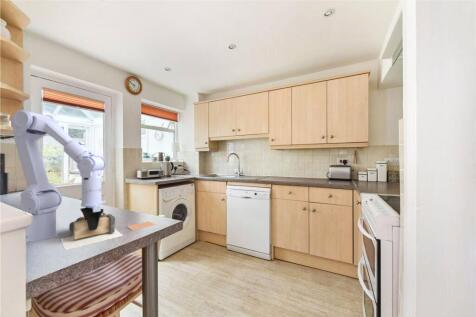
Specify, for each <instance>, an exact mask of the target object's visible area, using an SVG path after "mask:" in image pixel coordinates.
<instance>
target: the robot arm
mask: <svg viewBox="0 0 476 317" xmlns="http://www.w3.org/2000/svg"><path fill="white" fill-rule="evenodd" d="M10 122H11V127H12V131H13V134H14V136H13V139H14V142H15V146H16V151H17V153H18V154H17V155H18V156H19V161H20V164H21V169H22V171H23V174H24V179H25V181H26V186H27V188H25V189H24V190H23V191H22V192H21V193H20V198H21V199H20V209H21V211H23V212H24V211H25V212H28V213H31V214H32V215H33V223H32V225H31V226H30V227H28V228H27V230H26V236H27V237H26V239H27V243H31V242H36V241H40V240H46V239H50V238H55V237H59V236H60V235H59V232H58V231H57V210H58V209H59V206H60V205H61V204H62V202H63V198H62V195H61V193H60V192H59V190H58V189H57V186H56V185H54V184H52V183H51V182H50V181H49V179H48V175H47V172H46V168H45V165H44V161H43V157H42V153H41V149H40V146H39V143H38V141H39V140H40V139H42V138H44V137H45V136H47V135H49V136H50V137H52V138H53V139H54V140H55V141H57V143H59V144H60V145H62V146H63V152H64V153H65V154H66V155H68V157H69V158H70V159H71V160H73V161H74V162H75V163H76V167H77V170H78V171H79V173H80V177H81V203H80V206H81V207H83V208H80V210H79V211H80V212H81V213H82V215H83V217H84V218H85V220H87V223H88V228H89V230H90V231H91V230H96V229H97V227H98V223H99V219H100V216H101V214H102V213H103V212H104V208H101V206H102V205H103V204H105V203H106V200H103V199H102V196H103V193H102V184H103V183H102V179H103V178H102V177H103V176H102V175H103V174H102V171H103V170H105V167H106V161H105V159H104V158H103V156H100V155H96V154H95V153H94V151H91V149H89V148H88V147H87V146H86V143H84V142H83V141H80V140H74V139H73V138H72V137H71V136H70V135H69V133H67V132H66V131H65V130H64V129H63V128H62V127H61V126H60V125H59V121H58V120H57V119H55V118H54V117H53V116H51V115H49V114H44V113H38V112H33V111H29V110H27V109H19V110H17V111H16V112H15V113H14V114H13V116H11V118H10ZM25 212H24V213H25ZM28 240H29V241H30V242H28Z"/></svg>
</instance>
